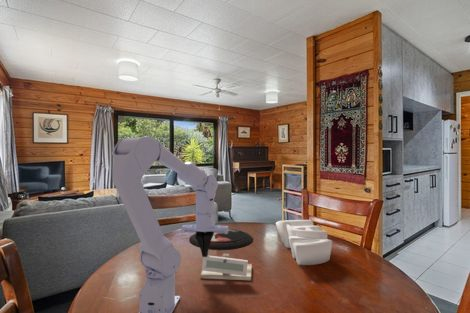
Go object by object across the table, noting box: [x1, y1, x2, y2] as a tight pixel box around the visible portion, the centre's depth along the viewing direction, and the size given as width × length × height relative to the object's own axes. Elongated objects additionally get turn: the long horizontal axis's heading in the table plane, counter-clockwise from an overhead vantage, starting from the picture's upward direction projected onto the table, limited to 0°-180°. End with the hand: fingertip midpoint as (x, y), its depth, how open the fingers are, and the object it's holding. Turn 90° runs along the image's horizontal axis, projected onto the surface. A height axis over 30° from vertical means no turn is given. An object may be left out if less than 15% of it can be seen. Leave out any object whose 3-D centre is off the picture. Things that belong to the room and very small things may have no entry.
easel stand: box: [200, 253, 253, 281], centre depth 80 cm, size 9×16×7 cm, turn 85°
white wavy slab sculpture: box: [275, 219, 333, 266], centre depth 99 cm, size 35×16×11 cm, turn 0°
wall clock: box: [188, 227, 254, 251], centre depth 113 cm, size 27×5×30 cm
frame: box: [201, 255, 249, 276], centre depth 75 cm, size 2×14×4 cm, turn 85°
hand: (205, 255), depth 76 cm, fingers closed
